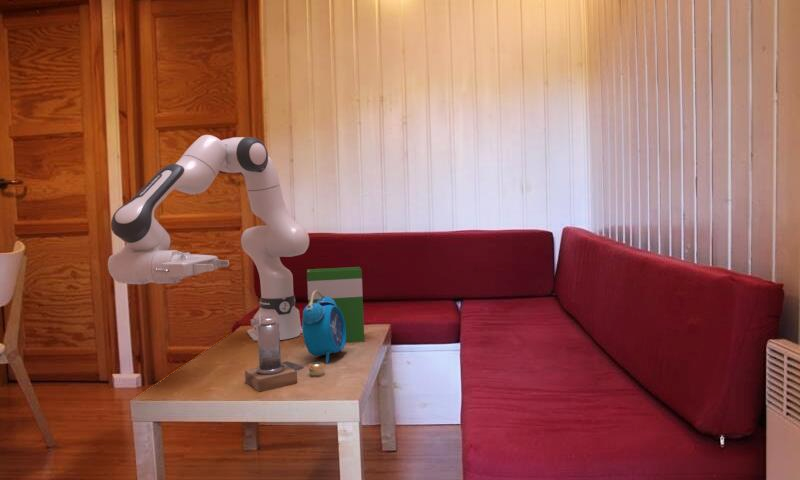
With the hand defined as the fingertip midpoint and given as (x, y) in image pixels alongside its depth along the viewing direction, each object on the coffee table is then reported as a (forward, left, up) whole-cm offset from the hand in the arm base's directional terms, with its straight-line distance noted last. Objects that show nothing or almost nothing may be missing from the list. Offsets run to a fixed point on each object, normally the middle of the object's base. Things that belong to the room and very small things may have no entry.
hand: (221, 265), depth 142 cm
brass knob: (+14, +19, -30) cm, 39 cm away
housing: (+12, +7, -27) cm, 31 cm away
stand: (+12, +7, -30) cm, 33 cm away
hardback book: (-15, +41, -30) cm, 53 cm away
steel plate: (+3, +15, -31) cm, 34 cm away
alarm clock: (+1, +29, -30) cm, 42 cm away
